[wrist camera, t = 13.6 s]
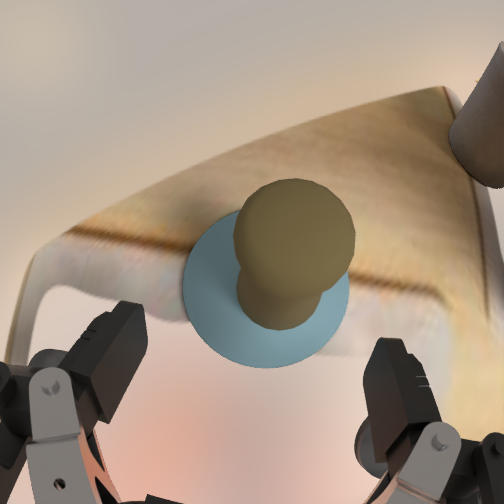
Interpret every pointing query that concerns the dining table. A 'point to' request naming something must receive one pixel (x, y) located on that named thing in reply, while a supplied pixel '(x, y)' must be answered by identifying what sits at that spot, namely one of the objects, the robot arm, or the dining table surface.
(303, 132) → the dining table surface
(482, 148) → the pillar candle
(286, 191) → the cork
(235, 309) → the teal mat
